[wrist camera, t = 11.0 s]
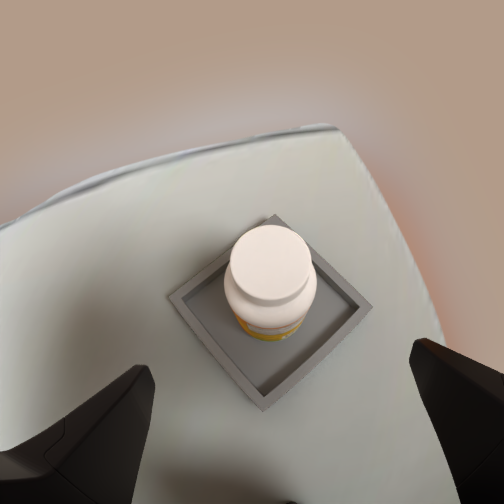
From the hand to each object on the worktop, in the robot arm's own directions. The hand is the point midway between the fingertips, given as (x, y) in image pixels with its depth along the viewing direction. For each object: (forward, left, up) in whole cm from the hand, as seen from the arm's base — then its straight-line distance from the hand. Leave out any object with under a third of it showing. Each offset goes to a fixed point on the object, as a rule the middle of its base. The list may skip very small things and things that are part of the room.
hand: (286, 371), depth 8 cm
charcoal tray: (+3, +4, -13) cm, 15 cm away
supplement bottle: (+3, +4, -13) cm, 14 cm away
